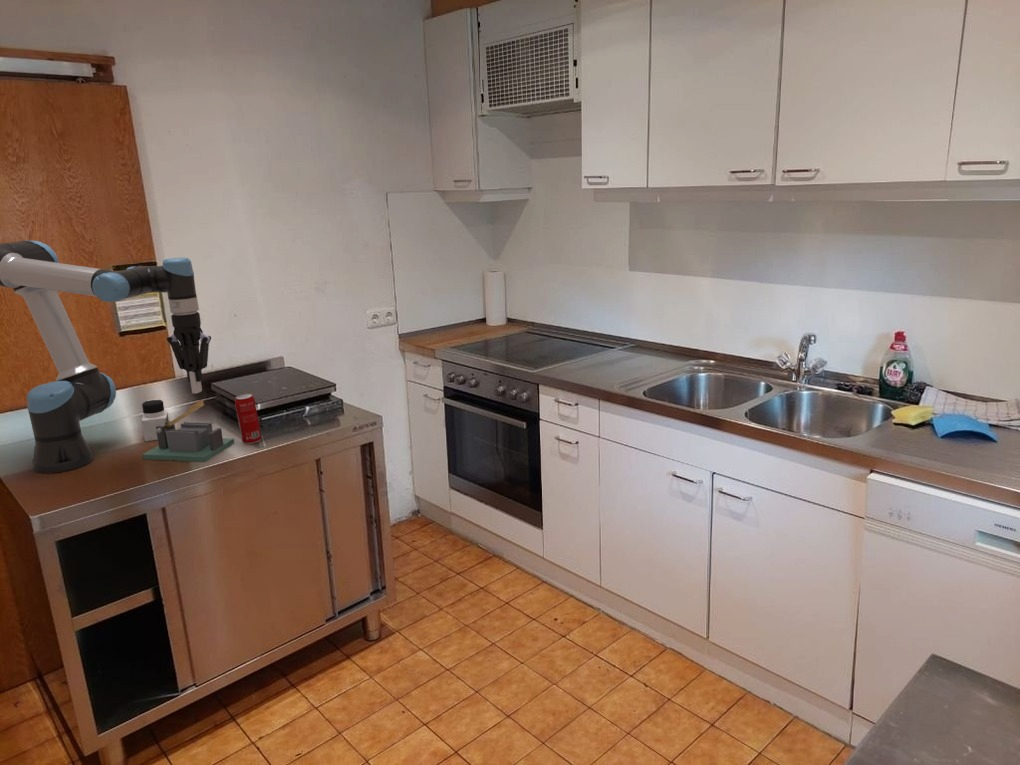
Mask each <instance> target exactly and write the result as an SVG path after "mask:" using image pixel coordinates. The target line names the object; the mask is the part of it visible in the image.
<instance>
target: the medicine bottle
mask: <svg viewBox="0 0 1020 765" xmlns="http://www.w3.org/2000/svg"><path fill="white" fill-rule="evenodd" d="M141 407H142V412H143V415H142V418H141V426H142V433H143V439H144V441H145V442H152V441H158V438H157V432H156V426H165V422H166V421H170V419H169V415H168V411H165V406H164V401H163V400H161V399H158V398H157V399H156V398H155V399H148V400H146V401H144V402H143V403H142V404H141ZM166 435H167V432H166Z"/></svg>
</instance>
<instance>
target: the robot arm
mask: <svg viewBox="0 0 1020 765" xmlns="http://www.w3.org/2000/svg"><path fill="white" fill-rule="evenodd" d="M194 275H195V272H194V269H193V264H192V261H191V259H190V258H189V257H172V258H170V257H169V258H164V259H163V260H162V265H151V266H150V265H146V266H145V265H137V266H136V265H134V266H130V267H127V268H125V269H124V270H123V269H122V270H109V269H103V268H96V267H90V266H81V265H76V264H75V265H74V264H68V263H62V262H61V263H60V261H59V258H58V255H57V254H56V252H55V251H54V250H53V249H52V248H51V246H49V245H47V244H46V243H43V242H41V241H37V240H25V239H24V240H21V241H20V240H19V241H12V242H11V241H10V242H4V243H0V287H3V288H9V289H13V292H14V293H15V294H17V295H19V296H21V297H23V299H24V301H25V303H26V305H27V308H28V310H29V312H30V314H31V316H32V318H33V321H34V323H35V325H36V327H37V329H38V332H39V334H40V336H41V338H42V340H43V342H44V345H45V347H46V349H47V350H48V354H49V355H50V357H51V359H52V361H53V365H54V366H55V368H56V371H57V372H58V374H57V376H56V378H55V381H50V382H49V381H48V383H43V384H39V385H37V386H35V387H33V388H32V389H30V390H29V391H28V392H27V394H26V401H27V402H26V407H27V408H26V409H27V411H28V414H29V419H30V424H31V427H32V428H31V429H32V433H33V436H34V442H35V444H34V449H33V458H32V462H31V463H32V464H31V465H32V468H33V471H34V472H36V473H42V474H52V473H60V472H61V473H62V472H66V471H67V472H68V471H71V470H74V469H78V468H81V467H83V466H86V465H88V464H89V463H91V462H92V461H93V460H94V455H93V450H92V449H91V448H90V447H89V445H88V443H87V441H86V439H85V438H84V436H83V433H82V429H81V424H80V422H81V421H83V420H85V419H87V418H90V417H92V416H94V415H96V414H101V413H102V412H104V411H105V410H106V409H109V408H110V407H111V406H113V404H114V401H115V400H116V397H117V396H116V395H117V388H116V385H115V382H114V380H113V379H112V377H110V376H109V375H108V376H107V374H105V373H103V372H100V370H99V368H98V366H97V365H95V364H93V363H91V362H90V360H89V359H88V357H87V355H86V353H85V350H84V348H83V346H82V344H81V342H80V338H79V337H78V334H77V333H76V330H75V328H74V326H73V324H72V321H71V320H70V317H69V315H68V312H67V311H66V309H65V306H64V304H63V302H62V300H61V298H60V295H59V293H58V292H64V293H71V294H77V295H78V294H79V295H84V296H90V297H91V296H92V297H97V298H98V299H99V300H101V301H102V302H104V303H105V302H106V303H112V302H120V301H122V300H126V299H130V298H134V297H138V296H142V295H147V294H155V293H167V298H168V299H167V300H168V304H169V310H170V313H171V315H170V317H171V323H172V327H173V334H172V335H171V336H168V337H166V341H167V343H168V344H170V347H171V350H172V352H173V355H174V357H175V360H176V363H177V364H178V367H179V369H180V370H184V371H185V372H186V376H187V381H188V383H189V382H190V388H191V394H198V393H201V392H202V391H203V389H202V383H201V382H202V381H203V374H202V370H203V369H206V368H208V359H209V349H210V347H209V346H210V342H211V340H212V336H211V335H206V334H205V333H204V331H203V329H202V328H201V325H202V324H201V323H202V322H201V315H200V312H199V310H200V308H199V302H198V296H197V290H196V283H195V276H194Z"/></svg>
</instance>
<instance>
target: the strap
mask: <svg viewBox="0 0 1020 765" xmlns="http://www.w3.org/2000/svg"><path fill="white" fill-rule="evenodd" d="M204 402H205V401H204V399H201V400H199V401H197V402H196V403H194V404H192V405H190V406H189V407H188V410H187V411H185V412H183V413H182V414H180V415H179V416H177V417H176V418H175V419H172V420H171V422H169V423H168V424H166V425H165V429H167V428H169V427H170V426H172V425H173V424H174V425H175V424H176V423H178V422H180V421H182V420H183V419H184V418H186V417H188V416H189V415H191V414H192V413H194V412H196V411H197V410H198V409H201V408H202V407H203V406H205V404H204Z"/></svg>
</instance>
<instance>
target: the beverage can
mask: <svg viewBox="0 0 1020 765" xmlns="http://www.w3.org/2000/svg"><path fill="white" fill-rule="evenodd" d="M234 399H235V400H234V405H235V406H234V407H235V409H236V416H237V421H238V427H239V430H240V436H241V437H240V438H241V441H242V443H243V444H245V445H246V444H247V445H251V444H256V443H259V442H260V441H261V440H262V433H261V428H260V422H259V417H258V412H257V406H256V400H255V397H254V395H253V394H252V393H241V394H238V395H236V396H235V398H234Z"/></svg>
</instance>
